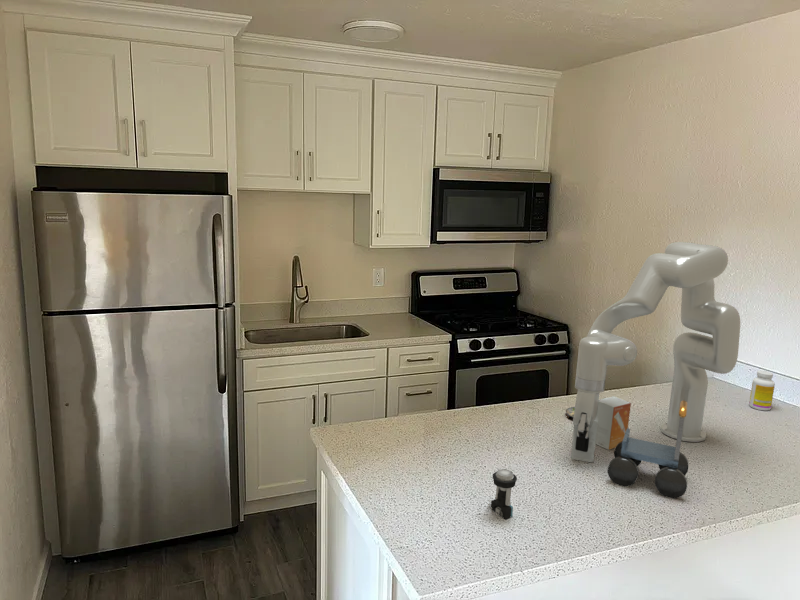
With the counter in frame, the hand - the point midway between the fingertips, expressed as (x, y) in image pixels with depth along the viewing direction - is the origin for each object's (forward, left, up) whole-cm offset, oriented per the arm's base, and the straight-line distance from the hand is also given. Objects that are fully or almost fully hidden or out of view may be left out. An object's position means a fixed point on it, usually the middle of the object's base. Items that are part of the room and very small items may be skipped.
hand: (583, 446), depth 163 cm
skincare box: (0, 0, -4) cm, 4 cm away
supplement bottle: (-75, +47, -4) cm, 89 cm away
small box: (-14, +5, -4) cm, 15 cm away
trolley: (+4, +17, -3) cm, 18 cm away
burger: (-31, -5, -4) cm, 32 cm away
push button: (+39, -11, -4) cm, 41 cm away
